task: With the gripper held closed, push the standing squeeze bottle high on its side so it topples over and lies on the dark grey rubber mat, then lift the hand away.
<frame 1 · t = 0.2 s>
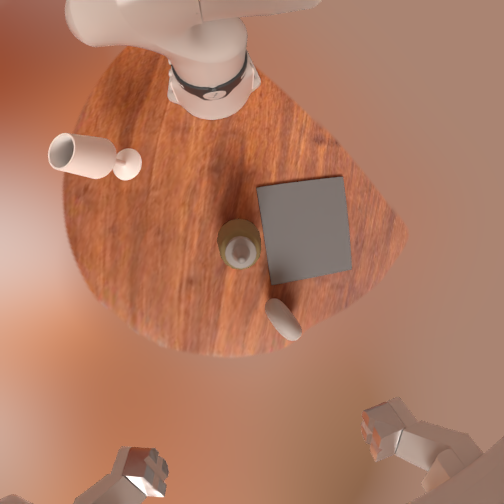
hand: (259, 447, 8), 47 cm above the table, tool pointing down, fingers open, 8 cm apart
donut: (279, 308, 58), on the table
champagne flute: (127, 164, 49), on the table
mat: (307, 230, 55), on the table
squeeze bottle: (238, 236, 54), on the table
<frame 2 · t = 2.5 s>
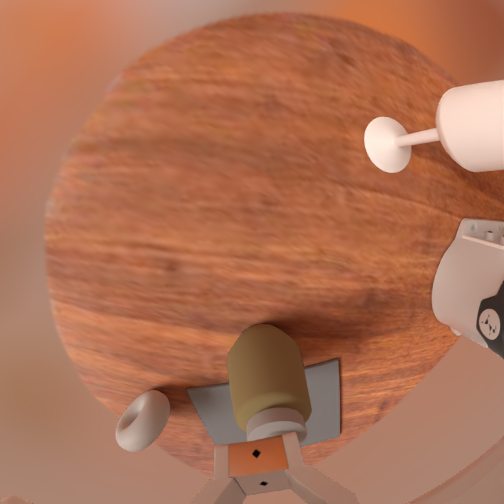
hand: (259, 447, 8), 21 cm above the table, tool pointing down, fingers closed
donut: (150, 395, 32), on the table
champagne flute: (388, 144, 26), on the table
mat: (273, 419, 34), on the table
squeeze bottle: (261, 343, 31), on the table
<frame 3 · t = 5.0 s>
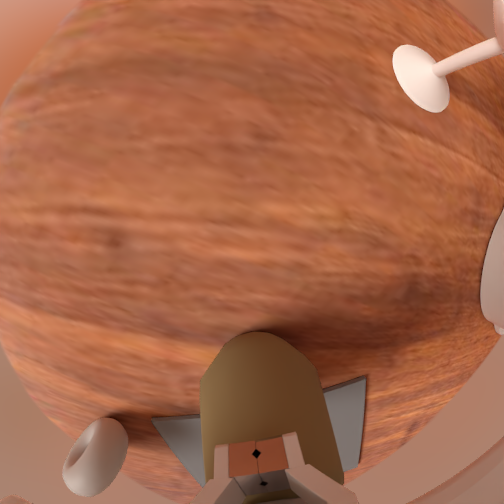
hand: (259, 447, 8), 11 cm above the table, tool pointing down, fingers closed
donut: (108, 422, 21), on the table
champagne flute: (422, 77, 16), on the table
mat: (272, 455, 23), on the table
squeeze bottle: (255, 360, 20), on the table, touching gripper
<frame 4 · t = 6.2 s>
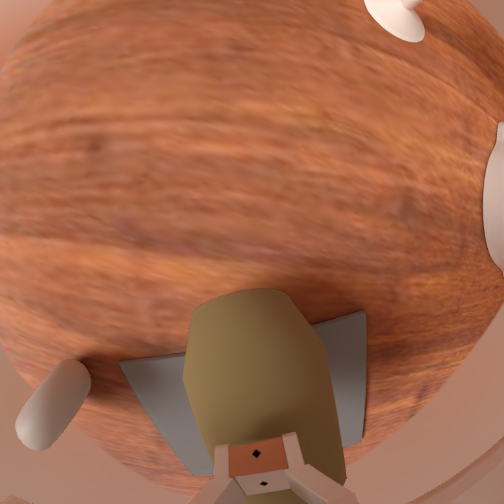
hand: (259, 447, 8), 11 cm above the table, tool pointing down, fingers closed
donut: (76, 371, 19), on the table
champagne flute: (395, 15, 14), on the table
mat: (260, 418, 21), on the table
squeeze bottle: (238, 303, 16), point 2 cm above the table
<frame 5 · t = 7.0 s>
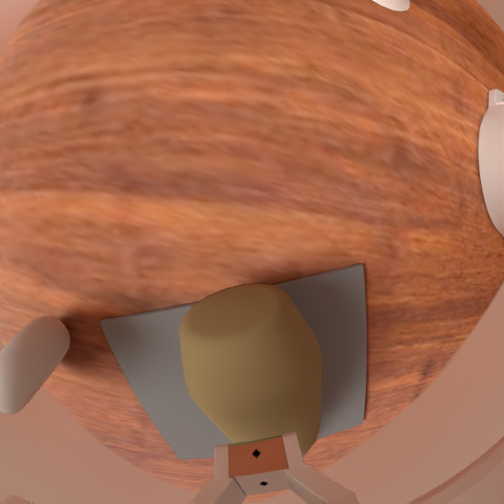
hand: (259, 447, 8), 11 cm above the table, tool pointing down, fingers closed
donut: (57, 335, 19), on the table
mat: (251, 390, 21), on the table
squeeze bottle: (230, 304, 13), point 5 cm above the table, touching mat
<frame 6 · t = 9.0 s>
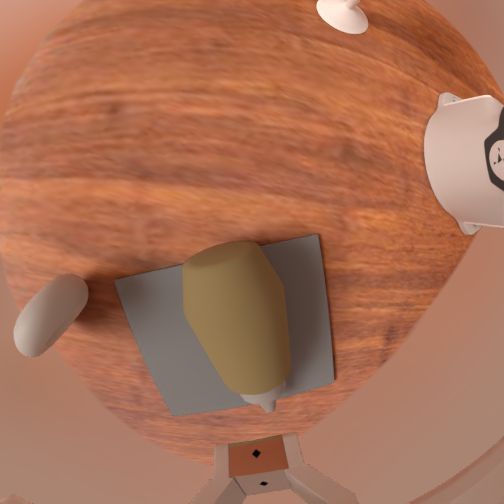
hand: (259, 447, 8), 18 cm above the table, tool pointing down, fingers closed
donut: (75, 297, 24), on the table
champagne flute: (342, 14, 21), on the table
mat: (234, 341, 27), on the table
squeeze bottle: (218, 249, 20), point 5 cm above the table, touching mat
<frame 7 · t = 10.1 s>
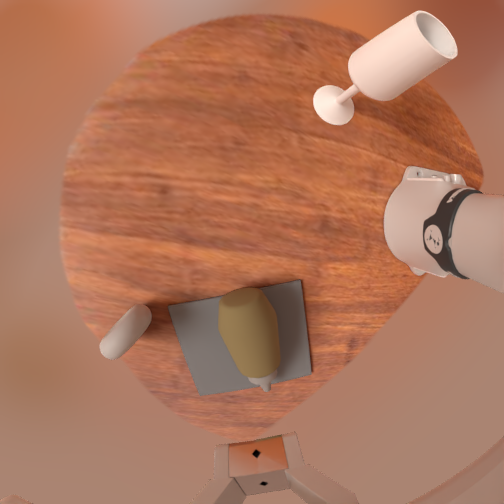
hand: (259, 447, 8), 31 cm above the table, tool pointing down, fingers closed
donut: (135, 316, 39), on the table
champagne flute: (333, 105, 35), on the table
mat: (245, 344, 41), on the table
squeeze bottle: (239, 295, 34), point 5 cm above the table, touching mat
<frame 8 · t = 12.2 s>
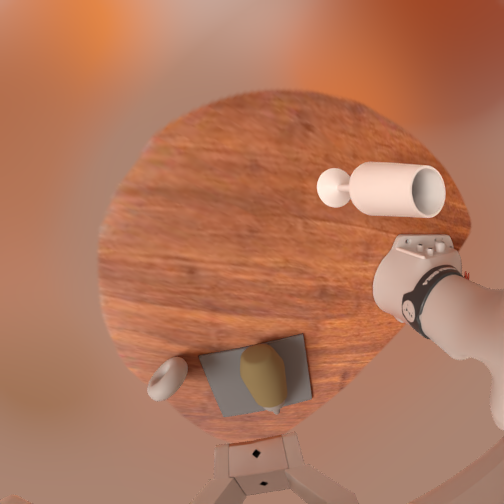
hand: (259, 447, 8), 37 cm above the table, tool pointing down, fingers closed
donut: (172, 362, 49), on the table
champagne flute: (335, 187, 43), on the table
mat: (259, 380, 51), on the table
squeeze bottle: (256, 352, 44), point 5 cm above the table, touching mat
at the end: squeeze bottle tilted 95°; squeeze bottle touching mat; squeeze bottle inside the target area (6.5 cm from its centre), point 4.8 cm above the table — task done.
